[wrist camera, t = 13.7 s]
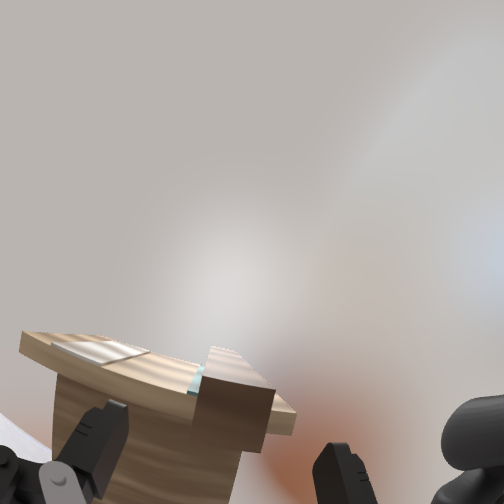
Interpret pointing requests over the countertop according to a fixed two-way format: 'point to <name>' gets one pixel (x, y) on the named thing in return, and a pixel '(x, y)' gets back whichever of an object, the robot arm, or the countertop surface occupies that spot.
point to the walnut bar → (231, 404)
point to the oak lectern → (142, 417)
